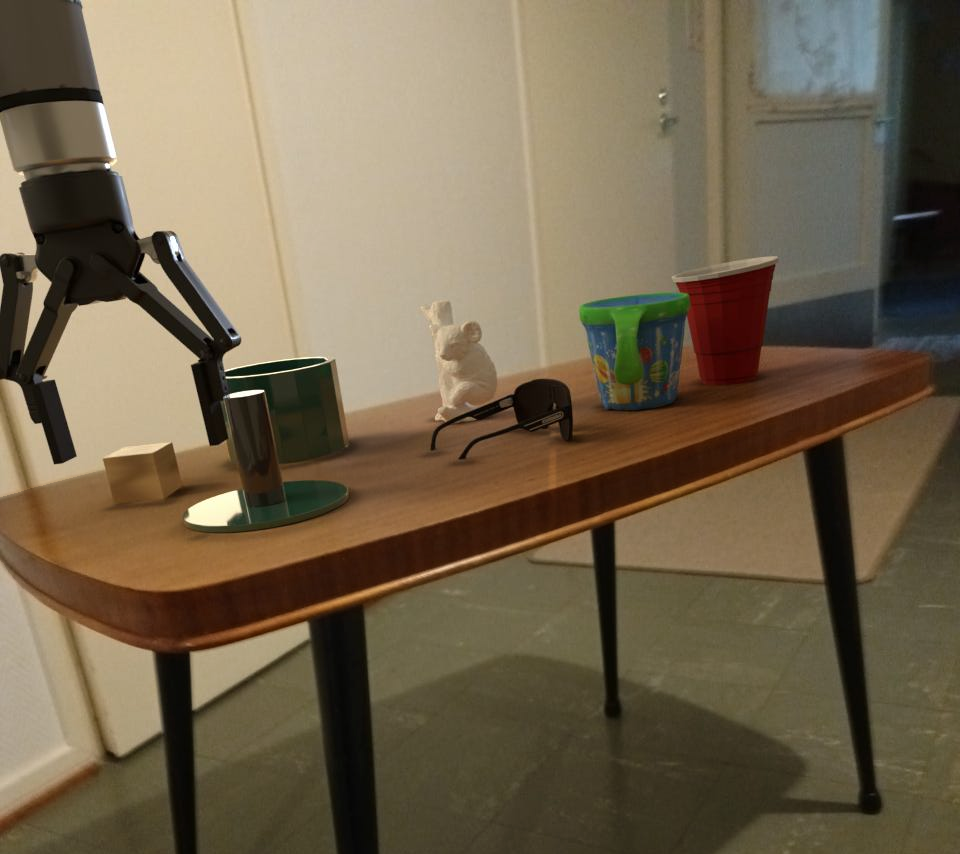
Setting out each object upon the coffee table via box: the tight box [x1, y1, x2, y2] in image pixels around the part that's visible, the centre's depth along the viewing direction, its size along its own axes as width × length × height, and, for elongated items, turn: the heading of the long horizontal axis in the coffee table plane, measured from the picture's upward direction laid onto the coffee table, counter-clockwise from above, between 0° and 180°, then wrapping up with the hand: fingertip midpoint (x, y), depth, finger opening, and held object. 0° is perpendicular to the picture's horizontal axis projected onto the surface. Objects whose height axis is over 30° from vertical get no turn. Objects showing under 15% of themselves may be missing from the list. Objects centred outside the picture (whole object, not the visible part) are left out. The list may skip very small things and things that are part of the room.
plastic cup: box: [671, 255, 780, 386], centre depth 103 cm, size 11×11×12 cm
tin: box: [220, 356, 350, 466], centre depth 93 cm, size 11×11×8 cm
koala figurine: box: [420, 298, 498, 425], centre depth 100 cm, size 8×7×12 cm
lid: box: [182, 390, 350, 534], centre depth 73 cm, size 12×12×9 cm
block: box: [102, 441, 183, 505], centre depth 83 cm, size 4×4×4 cm
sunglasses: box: [430, 378, 574, 460], centre depth 86 cm, size 11×12×5 cm
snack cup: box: [579, 292, 690, 412], centre depth 96 cm, size 16×10×10 cm
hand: (141, 452), depth 82 cm, fingers open, 13 cm apart
